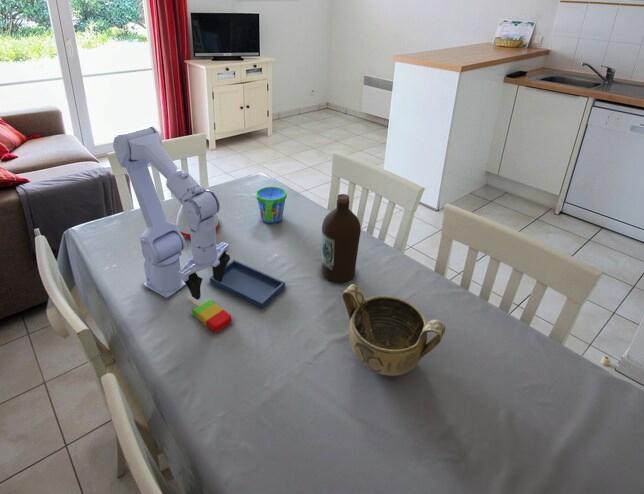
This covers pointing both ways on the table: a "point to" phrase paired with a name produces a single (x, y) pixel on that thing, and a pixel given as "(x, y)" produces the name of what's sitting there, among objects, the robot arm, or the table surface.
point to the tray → (249, 284)
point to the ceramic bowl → (388, 332)
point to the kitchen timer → (184, 227)
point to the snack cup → (271, 203)
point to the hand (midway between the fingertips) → (207, 288)
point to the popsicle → (211, 314)
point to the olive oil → (340, 242)
